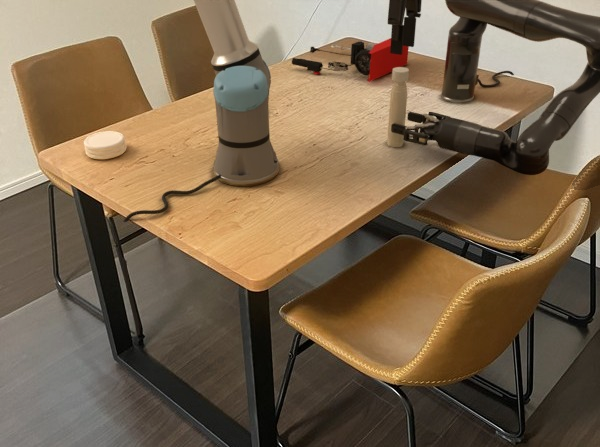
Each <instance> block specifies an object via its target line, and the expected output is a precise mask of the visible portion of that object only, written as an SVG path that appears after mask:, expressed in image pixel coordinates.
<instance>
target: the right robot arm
mask: <svg viewBox="0 0 600 447" xmlns="http://www.w3.org/2000/svg"><path fill="white" fill-rule="evenodd" d="M444 1H445V5H446V7H447V9H448V10H449V12H450V13H451V14H452V15H454V16H456V17H458V20H457V21H456V22H455V23H454V24H453V25H452V26H451V27H450V28H449V30H448V37H447V44H446V53H445V63H444V70H443V71H444V72H443V81H442V89H441V94H440V97H441V99H442V100H444V101H446V102H448V103H454V104H466V103H470V102H472V101H474V99H475V91H476V90H475V89H476V86H478V85H479V86H480V87H482V88H494V87H497V86H499V85H500V84H501V81H500V80H499V79H498V78H497V77H498V76H499V75H503V74H509V75H511V76H515V73H514V72H513V71H510V70H502V71H499V72H496V73H494V74H493V75H492V76H491V78H492V80H493V81H494V82H495V83H492V84H484V83H482V81H481V79H480V78H479V76H480V74H478V70H479V69H478V68H479V63H480V54H481V48H482V47H481V46H482V40H483V35H484V33H485V31H486V30H487V26H488V25H489V26H491V27H494V28H496V29H499V30H501V31H504V32H507V33H510V34H512V35H515V36H517V37H519V38H522V39H525V40H528V41H532V42H536V43H541V42H548V41H551V40H556V39H565V40H569V41H572V42H575V43H577V44H579V45H582V46H583V47H584V48H585V52H586V53H585V54H586V60H587V63H586V65H585V67H584V69H583V71H582V73H581V75H580V76H579V78H578V79H577V80H576V81H575V82H574V83H573V84H571V85H569V86H568V87H566V88H565V89H563V90H561V91H560V92H558V93H557V94H556V95H555V96H554V97H553V98H552V99H551V100H550V102H549V103H548V104H547V106H546V107H545V109H544V110H543V111H542V112H541V114H540V115H539V117H538V118H537V119H536V120H535V121H533V122H532V123H531V124H530V125H529V126H528V127H526V129H524V130H523V131H522V132H521V133H520V135H519V136H518V138H517V139H516V141H514V140H512V138H511V137H510V136H509V134H508V133H507V131H506V132H505V131H504V130H502V129H498V128H492V127H489V126H485V125H482V124H479V123H478V122H472V121H468V120H464V119H460V118H456V117H452V116H450V115H445V114H442V113H438V112H434V111H428V113H423V114H422V113H419V112H418V113H417V112H414V111H409V112H407V117H406V118H407V121H408V122H412V123H415V125H414V126H413V125H411V126H407V125H405V126H404V125H400V124H396V123H393V124H392V125H391V132H393V133H397V134H400V135H404V138H403V140H404V142H407V143H411V144H416V145H419V146H425V147H426V146H428V143H429V142H428V141H433V142H434V141H435V142H436V144H437V147H439V148H440V149H443V150H446V151H451V152H455V153H458V154H461V155H465V156H466V155H467V156H473V157H478V158H482V159H486V160H489V161H494V162H496V163H498V164H499V165H501V166H503V167H505V168H507V169H509V170H511V171H514V172H516V173H519V174H521V175H525V176H537V175H540V174H542V173H543V172H545V171H546V170H547V169H548V167H549V164H550V149H551V147H552V145H553V144H554V143H555V142H556V141H557V142H558V141H560V140H562V139H564V138H565V136H566V135H567V134H568V133H569V132H570V130H571V129H572V128H573V126H574V125H575V123H576V122H577V120H578V119H579V118H580V117H581V115H582V114H583V113H584V111H585V110H586V109H587V107H588V106H589V105H590V104H591V102H593V100H594V99H595V98H596V97H597V96H598V95H599V94H600V16H598V15H592V14H586V13H583V12H577V11H573V10H571V9H566V8H563V7H560V6H555V5H553V4H551V3H547V2H544V1H541V0H444ZM416 123H417V124H416Z"/></svg>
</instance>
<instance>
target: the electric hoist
mask: <svg viewBox="0 0 600 447" xmlns="http://www.w3.org/2000/svg"><path fill="white" fill-rule="evenodd" d="M330 47H331V48H333V49H340V50H341V51H343V50H347V51H350V54H347V56H348V57H350V64H347V63H345V62H340V61H334V62H332V61H329V62H327V65H328V66H327V67H324V65H323V63H322V62H321V61H315V60H310V59H305V58H297V57H296V58H295V57H292V59H291V64H292V65H293V66H298V67H302V68H303V67H304V68H306V71H310V72H313V74H314V75H320V74H321V71H322V70H328V71H334V72H341V71H342V72H346V71H348V70H349V67H350V66H354V67H355V69H356V70H357V72H358V73H359V74H362V75H364V76H368V78H367V79H366V81H367V82H372V81H374V80H376V79H378V78H381V77H383V76H385V75H387V74H389V73H392V71H393V68H396V67H405V66H406V65H408V58H409V48H410V47H409V46H403V52H402V55H399V54H392V53H390V48H391V37H390V38H388V39H385V40H383V41H381V42H378V43H377V42H368V44H366V45H365V42H363V41H356V42H353V43H351V47H349V46H344V45H341V46H339V45H338V44H333V45H330ZM316 51H317V52H324V53H325V52H326V53H331V54H336V55H340V56H341V55H342V56H346V54H343V53H338V52H333V51H328V50H322V49H319V48H316V47H315V46H310V48H309V53H312V54H314V53H315V52H316Z"/></svg>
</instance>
